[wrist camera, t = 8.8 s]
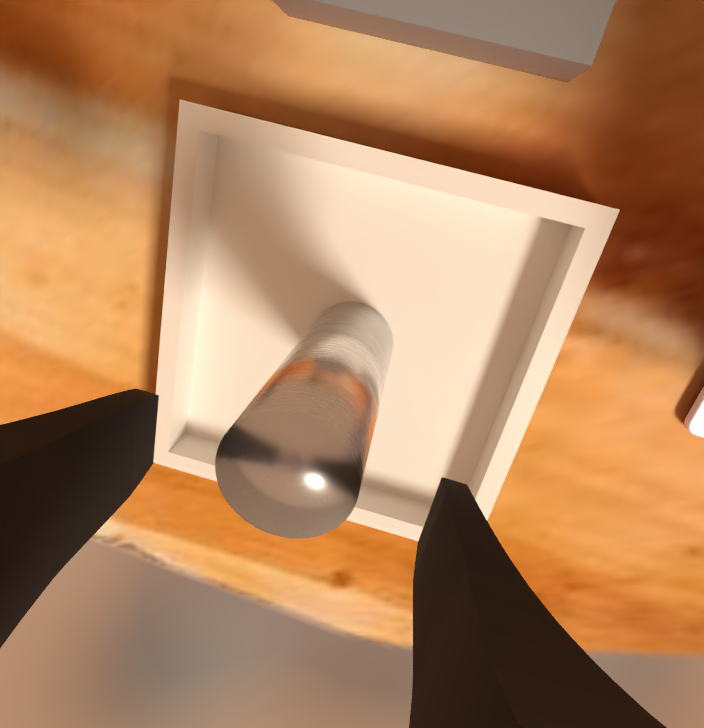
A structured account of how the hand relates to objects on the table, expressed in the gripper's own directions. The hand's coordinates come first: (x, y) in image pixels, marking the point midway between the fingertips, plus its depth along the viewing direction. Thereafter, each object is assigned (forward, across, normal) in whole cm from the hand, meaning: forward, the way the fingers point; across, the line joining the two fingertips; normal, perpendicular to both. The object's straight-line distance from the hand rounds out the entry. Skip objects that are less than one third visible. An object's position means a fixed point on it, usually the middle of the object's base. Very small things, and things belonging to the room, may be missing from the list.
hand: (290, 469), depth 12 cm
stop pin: (+10, 0, 0) cm, 10 cm away
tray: (+10, 0, 0) cm, 10 cm away
